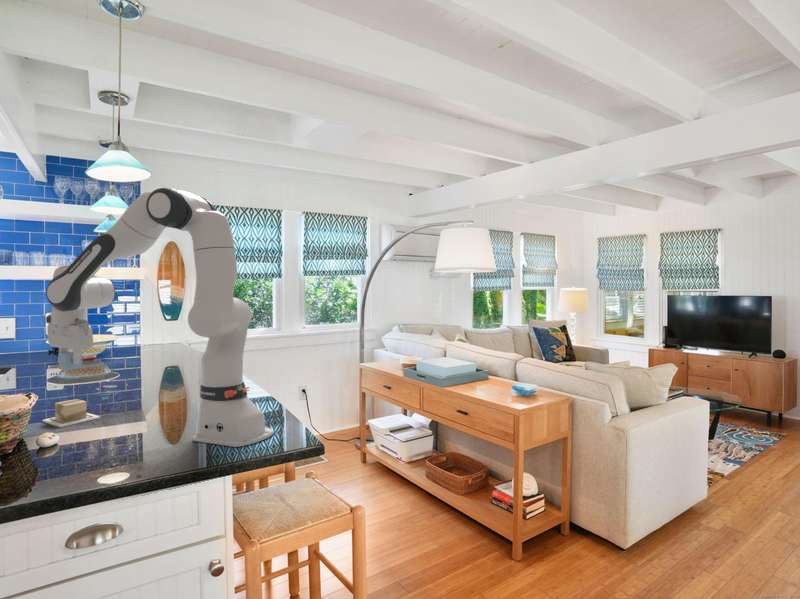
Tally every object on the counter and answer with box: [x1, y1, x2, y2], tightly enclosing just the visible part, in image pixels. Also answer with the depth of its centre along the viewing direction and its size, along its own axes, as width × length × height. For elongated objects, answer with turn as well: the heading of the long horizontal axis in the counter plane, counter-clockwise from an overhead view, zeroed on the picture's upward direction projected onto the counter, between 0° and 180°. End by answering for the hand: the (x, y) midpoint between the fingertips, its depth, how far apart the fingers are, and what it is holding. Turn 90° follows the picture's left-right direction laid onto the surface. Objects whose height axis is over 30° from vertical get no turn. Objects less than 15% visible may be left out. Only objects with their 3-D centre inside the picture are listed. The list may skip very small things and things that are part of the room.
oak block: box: [54, 398, 88, 422], centre depth 142 cm, size 6×6×5 cm
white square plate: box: [42, 412, 101, 428], centre depth 143 cm, size 11×11×1 cm
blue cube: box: [57, 350, 83, 371], centre depth 142 cm, size 5×5×5 cm
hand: (70, 362), depth 142 cm, fingers closed on blue cube, 5 cm apart
